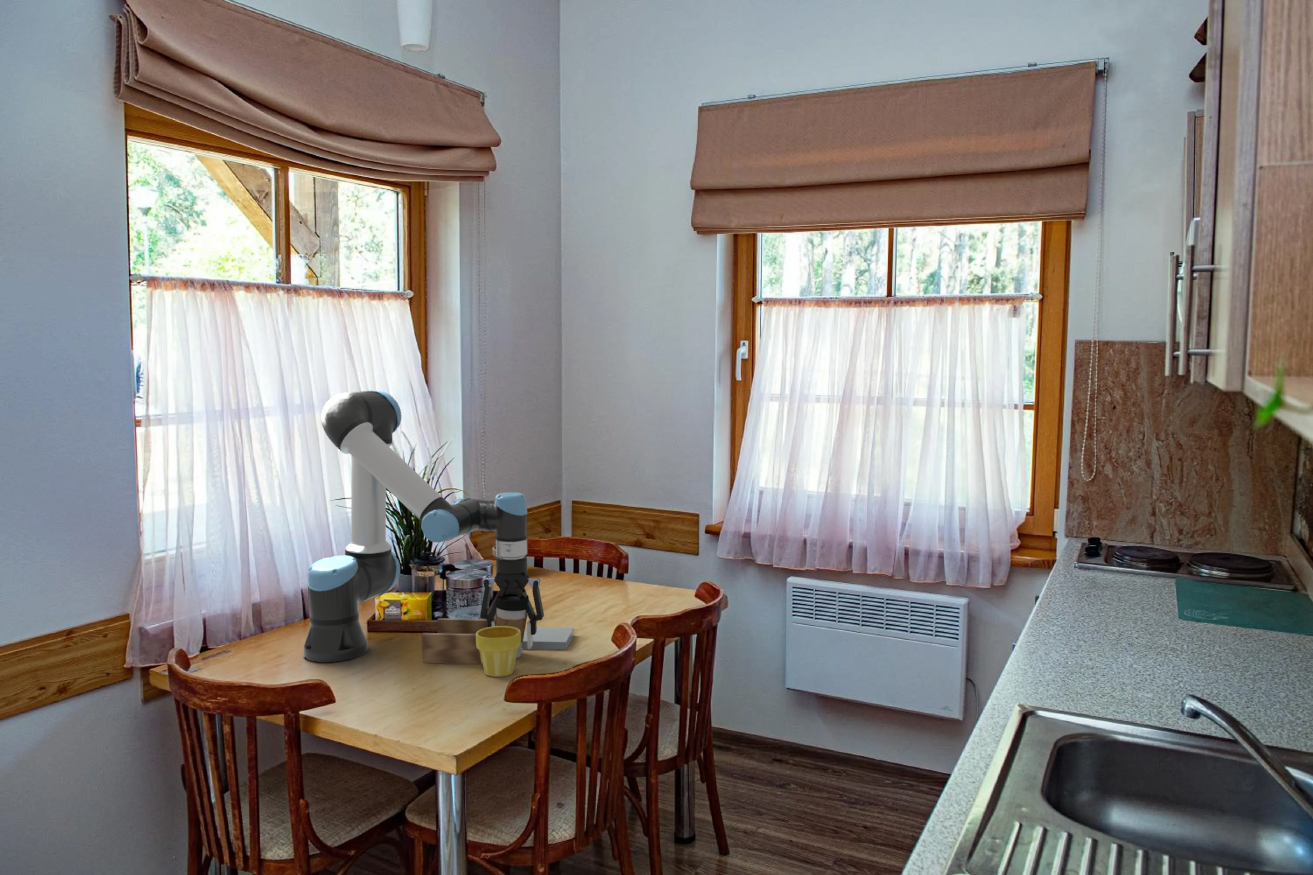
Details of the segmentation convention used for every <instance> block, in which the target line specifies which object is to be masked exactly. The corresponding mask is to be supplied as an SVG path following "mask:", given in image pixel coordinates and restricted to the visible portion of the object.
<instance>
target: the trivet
mask: <svg viewBox="0 0 1313 875" xmlns="http://www.w3.org/2000/svg"><path fill="white" fill-rule="evenodd" d="M574 632H575V631H574V627H553V626H552V627H549V626H548V627H547V626H546V627H545V626H537V632H536V634H535V635H533V646H532V647H531V649H530V650H550V651H551V650H552V651H553V650H555V651H556V650H558V651H560V650H561V651H566V650H567V648H568V646H569V644H571V641H572V639H573V637H574V634H575V633H574ZM522 650H528V649H527V629H525V632H524V638H523V643H522Z"/></svg>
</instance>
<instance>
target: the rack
mask: <svg viewBox="0 0 1313 875" xmlns="http://www.w3.org/2000/svg"><path fill="white" fill-rule="evenodd" d="M436 623H437V633H435V632H422V634H421V649H422V650H421V651H422V653H421V654H422V655H421V656H422V658H421V660H422V663H424V664H425V663H426V664H429V663H430V664H431V663H432V664H461V665H462V664H463V665H464V664H469V665H470V664H471V665H473V664H474V665H478V664H479V665H480V664H482V659H481V655H480V651H479V649H477V647H476V632H477V631H479V630H481V629H483V628H487V627H488V621H487V620H486V619H484V618H483V619H482V618H446V617H445V618H444V617H441V618H440V617H438V618H437V620H436Z"/></svg>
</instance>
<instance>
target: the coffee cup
mask: <svg viewBox="0 0 1313 875" xmlns="http://www.w3.org/2000/svg"><path fill="white" fill-rule="evenodd" d="M496 598H497V599H496ZM496 598H495V600H496V602H495V601H494V602H495V607H496V608H497V610H496V615H495V619H496V626H510V627H515V628H518V629H519V630H520V631H521V645H520V646H519V647H518V650H517V655H516V659H517V658H520V657H521V655H522V650H523V649H522V643H523V638H524V633H525V631H526V627H527V625H526V624H527V619H528V615H527V613H526V609H527V607H528V606H527V603H529V601H530V597H529V595H528V594H527V596H526V598H523V599H520V598H519V597H518V594H517V595H514V594H505V595H504V596H503V598H502V599H501V598H499V597H497V596H496Z"/></svg>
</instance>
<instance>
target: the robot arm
mask: <svg viewBox="0 0 1313 875" xmlns="http://www.w3.org/2000/svg"><path fill="white" fill-rule="evenodd" d="M401 422H402V411H401V407H400V405H399V403H398V402H397V400H396V399H395V398H394V397H393V396H392V395H391V394H390V393H387V392H385V391H382V390H373V389H371V390H363V391H353V392H342V393H338V394H336V395H334V396H332V397H331V398H329V400H328V401H327V402H326V403H325V405H324V407H323V409H322V412H321V426H322V428H323V431H324V432H325V435H326V436H327V439H328V440H330V441H331V443H332V444H333V445H334V446H335V447H336V448H337V449H338V450H339V451H340V452H341V453H342V454H346V455H347V454H350V456H351V485H350V486H351V492H350V493H351V502H350V503H351V504H350V506H351V510H350V512H351V514H350V515H351V516H350V518H351V522H350V523H351V524H350V525H351V527H350V529H351V534H350V536H351V537H350V539H351V540H350V542H349V543H348V544H347V545H346V546H345V547H344V555H333V556H331V557H330V556H329V557H328V556H327V557H324V558H321V559H319V560H317V561H314V562H313V563H312V564H311V565H310V566H309V568H308V571H307V573H308V574H307V581H306V582H307V590H308V593H307V594H308V610H309V611H308V612H309V627H308V630H307V633H306V637H305V640H304V643H303V644H304V645H303V647H302V648H303V649H302V650H303V658H304V657H306V658H307V659H309V660H308V661H310V660H311V662H314V661H317V662H316V663H337V662H343V661H349V660H352V659H355V658H358V657H360V656H363V655H364V654H366V653H367V652H368V640H367V637H366V634H365V631H364V630H363V627H362V624H361V622H360V612H359V611H360V609H359V608H360V605H359V604H360V603H363V602H366V601H368V600H371V599H373V598H377V597H382V595H384V594H386V593H388V592H389V591H390V590H392V589H393V588H394V587H395V586H396V584H397V582H398V580H399V579H400V575H401V566H400V565H401V564H400V562H399V558H397V557H396V554H395V553H394V552H393V551H392V545H391V544H390V543H389V542H388V541H387V540H386V538H387V537H386V532H387V531H386V529H387V528H386V526H387V525H386V522H387V521H386V519H387V517H386V516H387V515H386V514H387V511H386V510H387V508H386V507H387V506H386V505H387V490H388V491H389V492H390V493H391V494H392V495H393V496H394V497H395V498H396V499H397V500H399V501H400V503H402V505H404V506H405V507H406V509H408V510H409V511H410V512H411V513H412V514H413V515H414V516H415V517H416V518H417V520H419V521H420V522H421V523H420V524H421V528H420V529H421V530H422V532H423V536H424V537H425V538H426V539H427V540H429V541H430V542H432V543H438V544H439V543H443V542H448V541H451V540H453V539H455V538H457V537H460V536H464V535H466V534H470V533H472V532H475V531H487V532H495V546H496V555H497V556H498V557H497V558H496V557H495V569H496V570H495V572H496V574H495V576H494V577H488V576H487V577H486V578H485V579H484V580H483V587H484V590H483V595H482V596H483V598H482V601H481V602H482V603H481V609H480V613H479V614H480V615H479V619H486V620H487V621H488V627H493V626H496V610H497V608H496V607H495V602H496V599H497V597H499V598H501V599H502V598H503V596H504V595H505V594H514V595H517V594H518V597H519V598H520V599H523V598H526V596H527V595H528V594H527V591H526V586H527V585H528V584H529V587H530V588H531V589H532V590H531V591H532V598H533V602H534V606H535V607H534V608H535V609H534V608H533V605H532V603H531V600H529V603H527V606H528V607H527V609H526V613H527V618H528V619H529V620H528V622H526V624H527V625H526V630H527V649H526V650H532V649H531V647H532V646H533V635H535V634H536V632H537V627H538V626H537V625H538V624H537V622H539V621H542V620H543V618H544V617H545V612H544V607H543V603H542V601H543V600H542V596H541V591H540V586H541V585H540V584H541V579H540V578H536V579H534V578H530V576H529V575H528V557H527V556H526V555H528V553H527V546H528V536H527V529H528V528H527V526H528V525H527V523H528V522H527V520H528V518H527V516H528V508H527V497H526V496H525V495H524V493H522V492H515V491H514V492H500V493H497V494H496V496H495V499H494V500H489V499H477V498H472V497H467V498H463V497H462V498H460V497H459V498H456V499H455V500H453V502H452V503H449V501H447V500H446V499H445V498H444V497H443V496H442V495H440V493H439V492H438V491H437V490H436V489H434V488H433V487H432V485H430V483H428V482H427V481H426V479H424V478H423V477H422V476H421V475H419V474H418V472H416V470H414V469H413V468H412V467H411V466H410V465H409V464H408V463H407V462H406V461H405V460H404V459H403V458H402V457H401V456H399V455H398V454H397V453H396V452H395V450H393V449H392V448H391V446H392V445H393V434H394V433H395V432H396V431H397V429H398V428H399V427H400V425H401ZM495 584H496V586H497V587H498V588H499V591H498V592H497V594H496V597H495V600H494V602H493V604H492V607H491V609H490V612H489V605H490V600H491V594H492V587H493V586H494V585H495ZM307 659H306V660H307Z"/></svg>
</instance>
